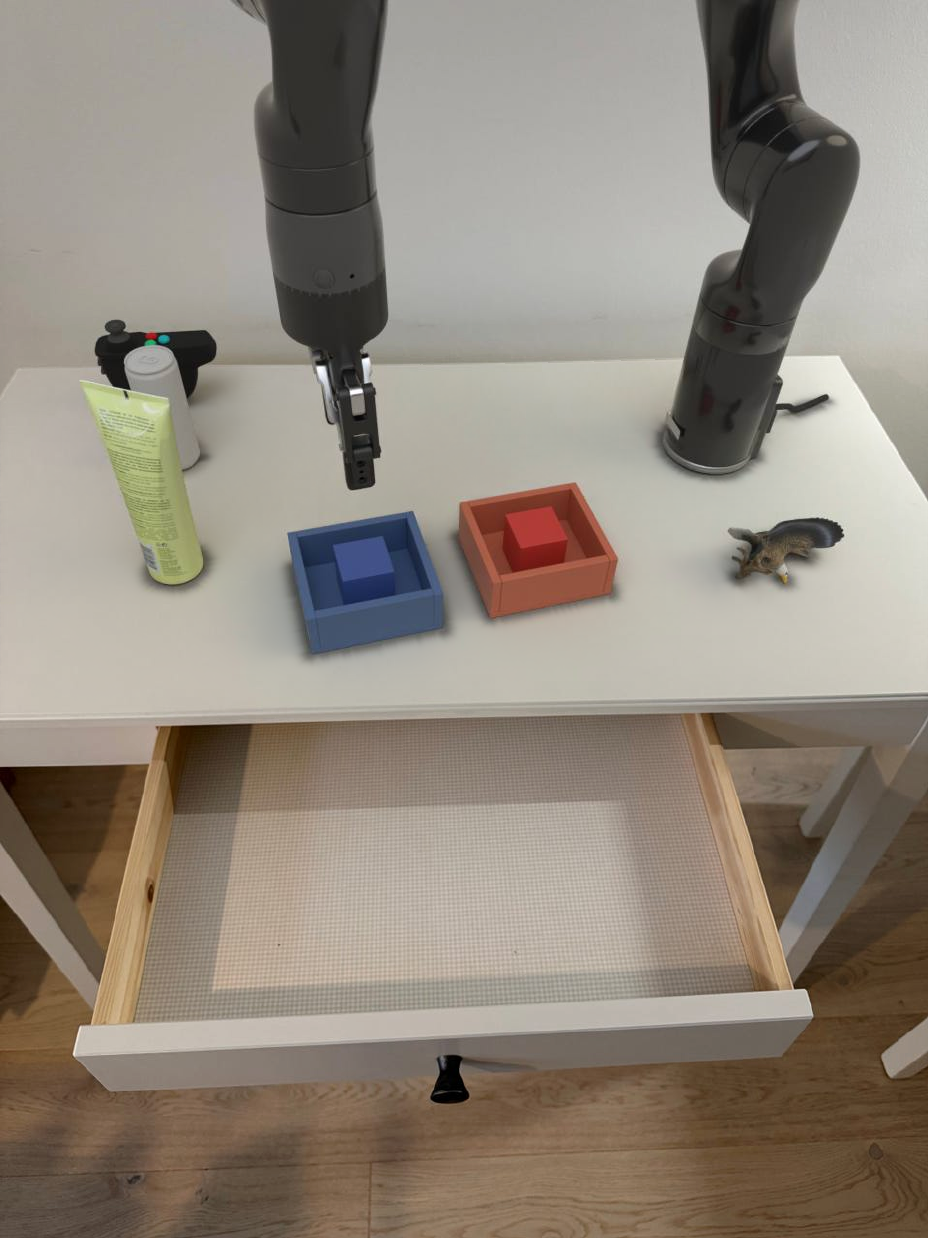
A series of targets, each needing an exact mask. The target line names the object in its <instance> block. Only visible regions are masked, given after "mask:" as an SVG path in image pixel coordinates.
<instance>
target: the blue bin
mask: <svg viewBox="0 0 928 1238" xmlns="http://www.w3.org/2000/svg"><path fill="white" fill-rule="evenodd" d="M286 535H287V541H288V547H289V552H290V557H291V563H292V569H293V573H294V577H295V582H296V583H295V584H296V587H297V590H298V596H299V601H300V605H301V610H302V613H303V614H302V615H303V618H304V622H305V627H306V631H307V635H308V636H307V637H308V642H309V646H310V651H311V654H312V655H315V654H320V653H327V652H330V651H334V650H339V649H346V648H349V647H354V646H359V645H360V646H361V645H365V644H371V643H375V642H379V641H384V640H390V639H393V638H398V637H399V638H400V637H403V636H409V635H414V634H419V633H423V632H429V631H433V630H438V629H443V627H444V626H443V623H444V592H443V588H442V587H441V584H440V582H439V578H438V576H437V572H436V569H435V568H434V565H433V561H432V559H431V556H430V554H429V551H428V548H427V545H426V542H425V540H424V536H423V534H422V531H421V529H420V525H419V523H418V520H417V517H416V515H415V512H414V510H410V511H408V510H407V511H404V512H398V513H392V514H387V515H381V516H375V517H369V518H363V519H358V520H353V521H352V520H351V521H346V522H340V523H335V524H330V525H324V526H317V527H312V528H306V529H300V530H296V531H289V532H286ZM380 536H383V538H384V541H385V544H386V547H387V550H388V553H389V556H390V559H391V562H392V565H393V568H394V571H395V590H396V595H395V596H390V597H384V598H379V599H374V600H369V601H364V602H359V603H353V604H348V605H344V604H343V600H342V596H341V593H340V589H339V585H338V582H337V575H336V568H335V560H334V552H333V545H336V544H342V543H347V542H353V541H358V540H364V539H369V538H374V537H380Z"/></svg>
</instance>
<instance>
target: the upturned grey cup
mask: <svg viewBox="0 0 928 1238" xmlns="http://www.w3.org/2000/svg"><path fill="white" fill-rule="evenodd" d="M124 364H125V373H126V376H127V379H128V382H129V385H130V388H131V391H135V392H140V393H145V394H149V395H154V396H160V397H165V398H169V401H170V406H171V415H172V422H173V428H174V433H175V438H176V443H177V448H178V453H179V458H180V463H181V467H182V471H184V470H187V469H190V468H191V467H192V466H193V465H195V464H196V463H197V461H198V459H199V458H200V455H201V449H200V445H199V441H198V437H197V433H196V430H195V426H194V425H195V424H194V421H193V418H192V413H191V410H190V406H189V402H188V399H187V398H186V394H185V391H184V387H183V383H182V379H181V375H180V371H179V368H178V364H177V361H176V359H175V357H174V355H173V353H172V351H171V350H170V349H168V348H166V347H163V346H158V345H149V346H143V347H139V348H137V349H134V350H133V351H131V352H130V353H129V354H127V355H126V357H125V359H124Z"/></svg>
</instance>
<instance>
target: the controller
mask: <svg viewBox="0 0 928 1238" xmlns="http://www.w3.org/2000/svg"><path fill="white" fill-rule="evenodd" d="M126 327H127V325H126V322H125V321H124V320H121V319H111V320H109V321H106V323H105V325H104V329H105V331H106V332H107V333H109V334H104V335H101V336H99V337H98V338H97V339H96V342H95V343H94V344H95V346H94V349H93V350H94V355H95V356H96V357H97V363H96V364H97V366H98V367H100V374H101V375H105V376H106V378H107V380H108V382H109V383H110V386H111V387H116V388H121V389H125V390H130V391H131V388H130V385H129V382H128V379H127V376H126V373H125V364H124V359H125V357H126V355H127V354H129V353H130V352H131V351H133V350H134V349H137V348H139V347H143V346H149V345H158V346H163V347H166V348H168V349H170V350H171V351H172V353H173V355H174V357H175V359H176V361H177V364H178V368H179V371H180V375H181V379H182V383H183V387H184V391H185V394H186V398H187V400H188V399H190V397H191V396H192V395H193V394H194V392H195V390H196V388H197V384H198V380H199V368H201V367H203V366H205V365H207V364H210V363H211V362H213V361H215V359H216V356H217V351H218V350H217V349H218V346H217V342H216V340H215V338H214V337H213V336H212V335H211V333H210V332H209V331H208V330H206V329H196V330H195V329H194V330H179V331H161V332H153V331H149V332H144V331H133V332H128V331H126Z"/></svg>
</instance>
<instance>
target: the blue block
mask: <svg viewBox="0 0 928 1238" xmlns="http://www.w3.org/2000/svg"><path fill="white" fill-rule="evenodd" d="M333 552H334V560H335V568H336V575H337V582H338V585H339V589H340V593H341V596H342V600H343V604H344V605H348V604H353V603H359V602H364V601H369V600H374V599H379V598H384V597H390V596H395V595H396V590H395V571H394V568H393V565H392V562H391V559H390V556H389V553H388V550H387V547H386V544H385V541H384V538H383V536H380V537H374V538H369V539H364V540H358V541H353V542H347V543H342V544H336V545H333Z"/></svg>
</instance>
